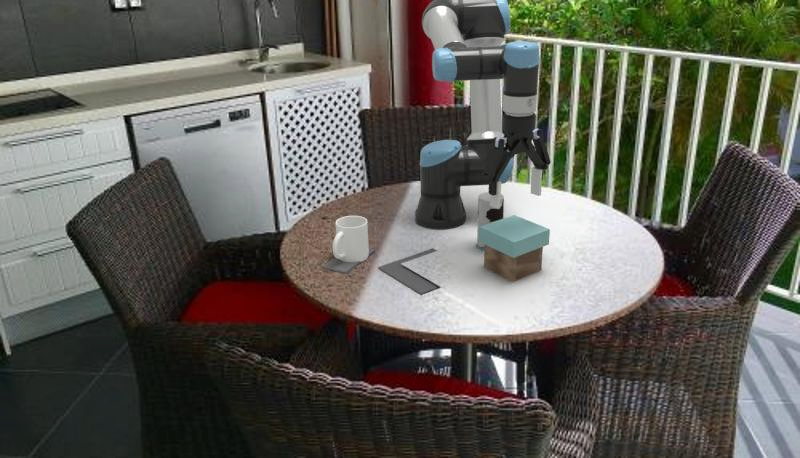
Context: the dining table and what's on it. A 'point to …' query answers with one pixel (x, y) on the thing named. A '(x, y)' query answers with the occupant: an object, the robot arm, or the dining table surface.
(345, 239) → the mug
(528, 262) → the box
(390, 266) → the mat
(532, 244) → the lid
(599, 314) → the dining table surface
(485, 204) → the printed grey cylinder
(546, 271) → the dining table surface
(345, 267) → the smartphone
